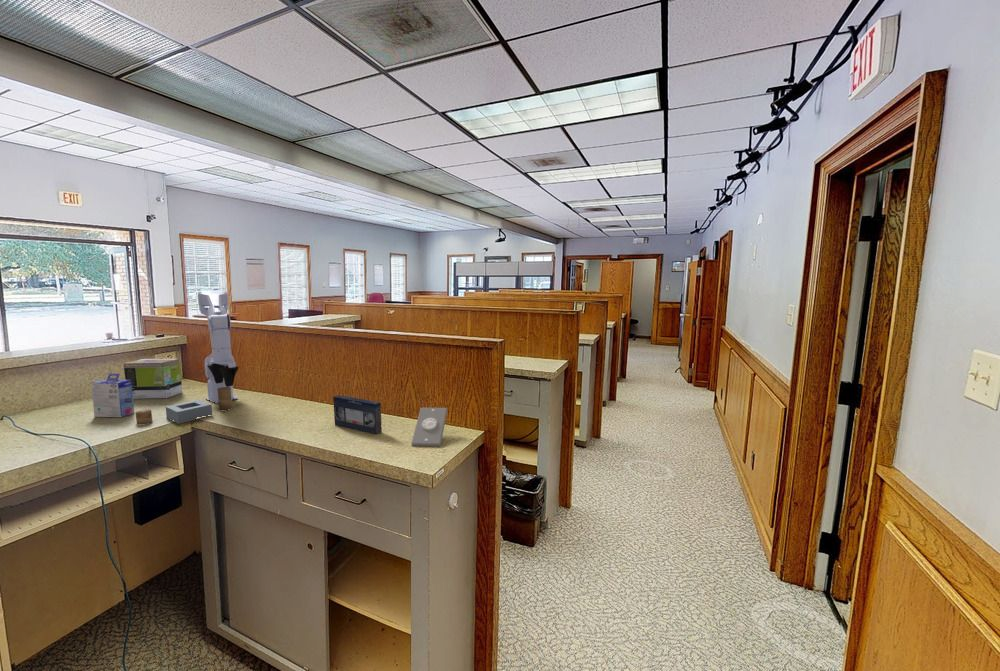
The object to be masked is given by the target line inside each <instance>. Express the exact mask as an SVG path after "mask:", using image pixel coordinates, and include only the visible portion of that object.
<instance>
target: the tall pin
mask: <svg viewBox="0 0 1000 671" xmlns="http://www.w3.org/2000/svg"><path fill="white" fill-rule="evenodd" d="M217 390H218V402H219V403H218V411H219V410H227V411H229V410H228V409H231V408H232V409H233V402H232V401H233V400H231V387H221V388H218V389H217ZM232 409H231V410H232Z"/></svg>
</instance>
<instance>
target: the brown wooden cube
mask: <svg viewBox="0 0 1000 671" xmlns="http://www.w3.org/2000/svg"><path fill="white" fill-rule="evenodd" d="M152 413H153V412H152V409H141V410H137V411H134V414H135V419H136V420H135V421H136V425H137V424H138V426H140V425H139V424H145V425H149V424H152V423H153V422H152V421H153V415H152ZM151 422H152V423H151ZM148 423H149V424H148Z"/></svg>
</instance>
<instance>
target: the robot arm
mask: <svg viewBox="0 0 1000 671" xmlns="http://www.w3.org/2000/svg"><path fill="white" fill-rule="evenodd" d="M197 301H198V308H199V311H200V314H202V315H204V316H206V319H207V325H208V330H209V337H210V347H211V353H210V355H207V356H206V358H204V372H205V377H206V378H207V379H208V380H207V382H206V383H207V384H206V387H207V396H208V397H206V398H205V400H206V399H207V400H206V401H209V400H210V401H209V402H211V403H214V402H215V404H219V403H218V390H217V389H218V388H221V387H231V400H232V401H233V399H234V400H238V399H239V397H238V396H234V387H233V386H234V383H235V379H236V374H237V372H238V370H239V366H237V364H236V362H235V358H234V356H233V354H232V346H231V345H232V344H231V332H230V330H231V329H232V322H231V321H232V320H231V317H230V314H229V313H228V310H229V295H228V292H227V291H226V290H199V291H198V292H197Z"/></svg>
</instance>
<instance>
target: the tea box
mask: <svg viewBox="0 0 1000 671" xmlns="http://www.w3.org/2000/svg"><path fill="white" fill-rule="evenodd" d="M123 372H124V380H131V384H132V394H133V400H135V399H136V400H137V399H141V400H143V399H168V398H171V397H173V396H176V395H179V394H181V393H183V384H182V374H181V365H180V358H178V357H177V358H141V359H138V360H131V361H127V362H123Z"/></svg>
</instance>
